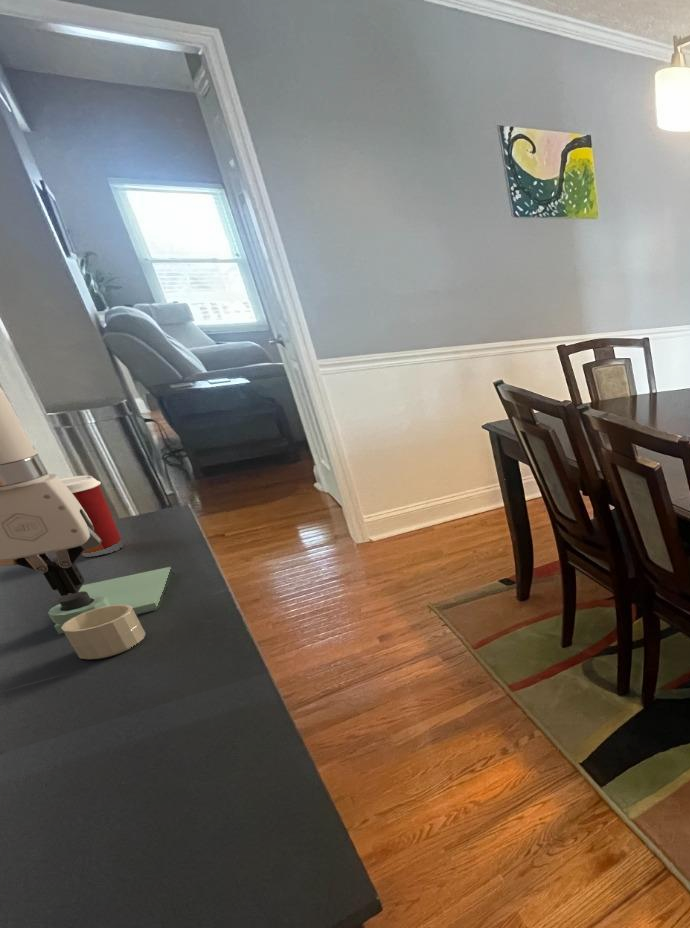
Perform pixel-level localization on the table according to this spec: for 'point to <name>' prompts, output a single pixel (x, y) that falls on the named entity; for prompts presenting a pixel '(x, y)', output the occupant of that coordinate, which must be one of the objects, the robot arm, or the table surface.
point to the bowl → (104, 631)
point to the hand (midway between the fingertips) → (72, 590)
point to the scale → (118, 594)
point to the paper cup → (94, 509)
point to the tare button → (75, 601)
